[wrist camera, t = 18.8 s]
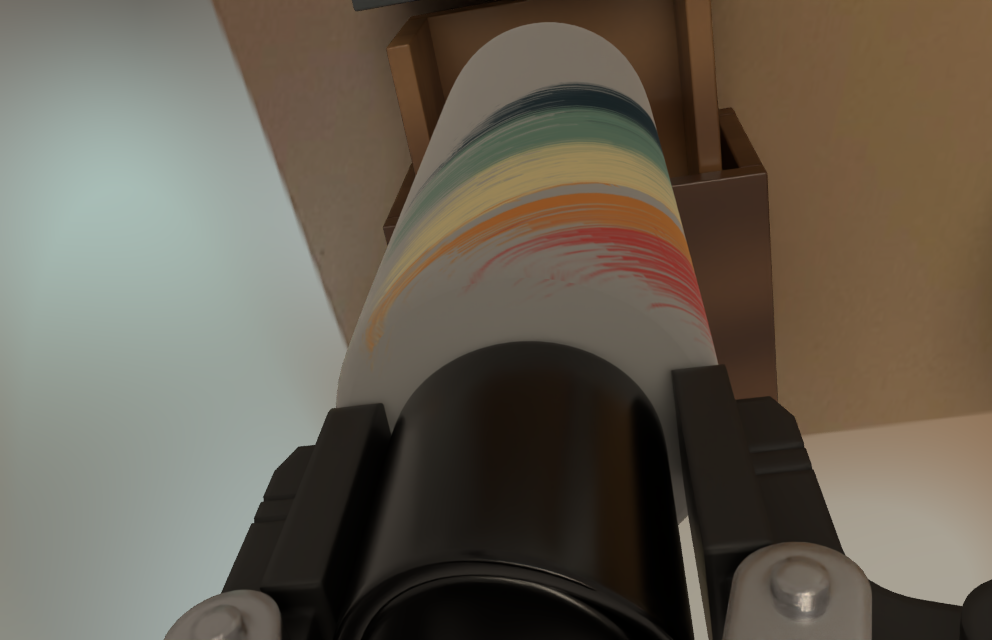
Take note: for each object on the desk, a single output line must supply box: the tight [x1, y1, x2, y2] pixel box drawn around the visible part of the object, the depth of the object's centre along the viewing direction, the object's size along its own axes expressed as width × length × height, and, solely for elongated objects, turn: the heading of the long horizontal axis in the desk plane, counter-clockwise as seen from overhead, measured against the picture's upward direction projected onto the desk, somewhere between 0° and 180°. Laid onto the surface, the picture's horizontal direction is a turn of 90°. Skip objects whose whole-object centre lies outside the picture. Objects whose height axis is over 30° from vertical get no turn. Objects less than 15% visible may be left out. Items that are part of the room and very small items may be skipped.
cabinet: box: [383, 108, 778, 402], centre depth 38 cm, size 12×13×8 cm
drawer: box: [352, 0, 722, 178], centre depth 32 cm, size 17×12×6 cm
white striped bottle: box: [333, 22, 718, 640], centre depth 18 cm, size 6×6×20 cm
